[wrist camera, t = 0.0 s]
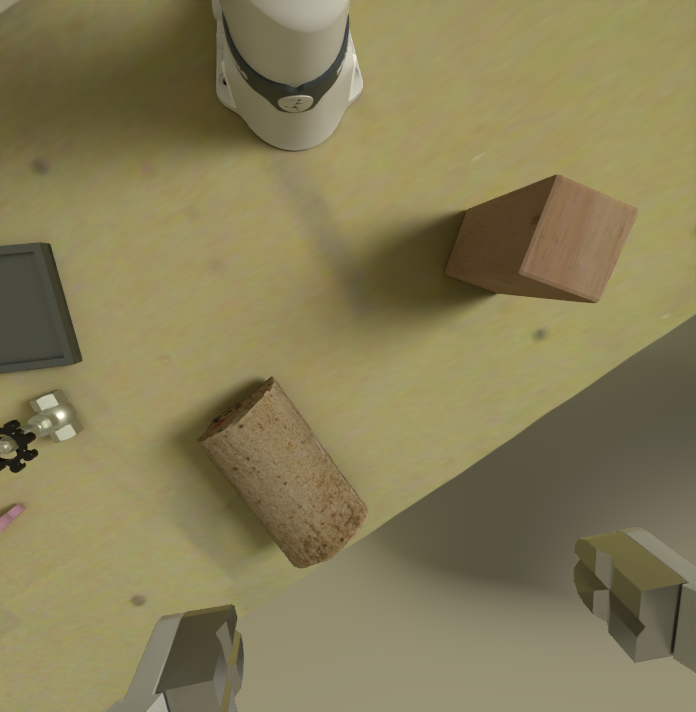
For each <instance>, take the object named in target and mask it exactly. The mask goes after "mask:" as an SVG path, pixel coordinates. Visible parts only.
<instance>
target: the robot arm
mask: <svg viewBox="0 0 696 712" xmlns="http://www.w3.org/2000/svg"><path fill="white" fill-rule="evenodd" d="M349 6H350V0H212V10H213V15H214V18H215V19H216V20H217V33H216V42H217V56H216V93H217V97H218V99H219V101H220V102H221V103H222V104H223V105H224V106H226V107H227V108H229V109H231V110H232V111H234V112H236V113H237V114H239V115H240V116H241V117H242V118H243V119H244V121H245V122H246V123H247V125H248V126H249V127H250V128H251V130H252V131H253V132H254V133H255V134H256V135H257V136H259V137H260V138H261V139H262V140H264V141H265V142H267V143H269V144H271V145H273V146H275V147H278V148H281V149H285V150H294V151H296V150H305V149H309V148H312V147H314V146H316V145H318V144H320V143H322V142H323V141H324V140H326V139H327V138H328V137H329V136H330V135H331V134H332V133H333V131H334V130H335V129H336V127H337V126H338V124H339V122H340V120H341V118H342V116H343V114H344V112H345V110H346V108H347V107H348V106H349V105H350V104H352V103H353V102H354V101H355V100H356V99H357V98H358V97H359V96H360V94H361V93H362V89H363V81H362V77H361V73H360V69H359V65H358V61H357V57H356V53H355V49H354V45H353V41H352V37H351V33H350V30H349V14H348V11H349ZM224 81H226V84H227V85H224ZM574 553H575V554H576V555H577V557H578V558H579V559H580V560H579V561H578V563H577V564H576V566H575V567H574V583H575V586H576V589H577V592H578V594H579V596H580V598H581V599H582V601H583V603H584V604H585V605H586V606H587V608H588V609H589V610H590V611H591V612H592V614H594V615H596V616H597V617H599V618H601V619H603V620H605V621H607V625H608V632H609V633H610V635H611V636H612V637H613V638H614V639H615V640H616V642H617V643H618V644H619V645H620V646H621V647H622V649H623V650H624V651H625V652H626V653H627V654H628V655H629V657H630V658H631V659H632V660H633V661H634V662H635V663H636V662H642V661H647V660H652V659H657V658H663V657H668V656H673V658H674V659H675V660H677V661H678V662H680V663H681V664H683V665H684V666H686V667H688V668H689V669H691V670H692V671H694V672H695V673H696V567H694V566H693V565H692V564H690V563H689V562H688V561H686V560H685V559H684V558H682V557H681V556H679V555H678V554H677V553H675V552H674V551H672V550H671V549H670V548H669V547H667V546H666V545H665V544H663V543H662V542H661V541H659V540H658V539H657V538H655V537H654V536H652V535H651V534H650V533H648V532H647V531H646V530H644V529H641V528H638V527H633V528H629V529H624V530H618V531H616V532H609V533H604V534H599V535H594V536H589V537H584V538H579V539H578V540H577V541H576V543H575V550H574ZM236 623H237V614H236V610H235V606H234V605H232V604H231V605H225V606H218V607H212V608H206V609H200V610H194V611H187V612H185V613H178V614H172V615H166V616H162V617H161V618H160V619H159V621H158V622H157V623H156V625H155V628H154V630H153V632H152V635H151V637H150V639H149V642H148V644H147V647H146V649H145V651H144V654H143V656H142V658H141V661H140V663H139V666H138V668H137V670H136V673H135V675H134V677H133V680H132V682H131V685H130V687H129V689H128V692H127V694H126V696H125V699H124V700H123V701H119V702H116V703H115V704H114V705H113V706H112V707H111V708H110V709H109V710H108V711H107V712H237V708H236V704H235V699H234V697H235V696H236V695H237V693H238V692H239V690H240V689H241V685H242V678H243V664H244V652H243V642H242V637H241V634H240V633H239V632H238V631H236V630H235V628H236Z"/></svg>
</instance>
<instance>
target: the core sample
mask: <svg viewBox="0 0 696 712" xmlns="http://www.w3.org/2000/svg"><path fill="white" fill-rule="evenodd" d="M197 442H198V444H199V445H200V446H201V447H202V449H203V450H204V451H205V453H206V454H207V455H208V456H209V458H210V459H211V460H212V462H213V463H214V464H215V465H216V467H217V468H218V469H219V470H220V472H221V473H222V474H223V475H224V476H225V478H226V479H227V480H228V481H229V483H230V484H231V485H232V486H233V488H234V489H235V490H236V491H237V493H238V494H239V495H240V497H241V498H242V499H243V500H244V502H245V503H246V504H247V506H248V507H249V509H250V510H251V511H252V513H253V514H254V515H255V516H256V518H257V519H258V520H259V521H260V523H261V524H262V525H263V527H264V528H265V529H266V531H267V532H268V533H269V535H270V536H271V537H272V539H273V540H274V541H275V543H276V544H277V545H278V546H279V548H280V549H281V550H282V551H283V553H284V554H285V555H286V557H287V558H288V559H289V561H290V562H291V563H292V564H293V565H294V567H298V568H307V567H309V566H311V565H314V564H317V563H320V562H324V561H327V560H328V559H330V558H332V557H334V556H335V555H336V554H337V553H338V552H339V551H340V550H341V549H342V548H343V547H344V546H345V545H346V544H347V543H348V542H349V541H350V540H351V539H352V538H353V537H354V535H355V534H356V533H357V532H358V531H359V530H360V529H361V528H362V526H363V525H364V524H365V523H366V521H367V518H368V509H367V507H366V505H365V503H364V502H363V501H362V500H361V498H360V497H359V496H358V494H357V493H356V492H355V490H354V489H353V488H352V487H351V485H350V484H349V483H348V481H347V480H346V478H345V477H344V476H343V475H342V474H341V472H340V471H339V470H338V468H337V466H336V465H335V463H334V462H333V460H332V459H331V457H330V456H329V454H328V453H327V452H326V450H325V449H324V448H323V446H322V445H321V443H320V441H319V440H318V439H317V437H316V436H315V435H314V433H313V431H312V430H311V428H310V427H309V425H308V424H307V422H306V421H305V420H304V418H303V417H302V415H301V414H300V413H299V411H298V410H297V409H296V407H295V406H294V405H293V403H292V402H291V400H290V399H289V398H288V396H287V395H286V394H285V392H284V391H283V390H282V388H281V387H280V386H279V384H278V383H277V381H276V380H275V379H274V377H270V378H269V379H268V380H266V381H265V382H264V383H263V384H262V385H261V386H260V388H259V389H257V390H256V392H254V393H253V394H252V395H250V396H249V397H247V398H246V399H244V400H243V401H242V402H241V403H239V404H237V405H235V406H233V407H231V408H229V409H228V410H227V411H226V412H224V413H222V414H221V415H219V416H218V417H217V418H215V419H214V420H213V421H212V423H211V424H210V426H209V427H208V429H207V431H206V432H205V433H204V434H203V435H202V436H201V437H200V438H199V439H197Z"/></svg>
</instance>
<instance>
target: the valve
mask: <svg viewBox="0 0 696 712" xmlns="http://www.w3.org/2000/svg"><path fill="white" fill-rule="evenodd" d="M66 399H67V398H66V396H65V395H64V393H63V391H62V390H55V391H52V392H50V393H47V394H45V395H42V396H40V397H37V398H35V399H33V400H31V401H30V402H29V403H30V405H31V407H32V408H33V410H34V411H35V412H38V414H37V415H35V416H33V417H31V418H30V419H29V420H28V423H27V425H26V426H24V427H22V428H19V429H17V428H18V427H20V423H19V421H17V420H12V421H10V422H8V423H6V424H4V426H3V428H0V434H4V435H6V436H5V437H0V453H1V454H9V453H10V452H13V451H15V450H16V452H17V456H16V457H14V458H12V459H4V458H1V457H0V471H1V470H3V469H4V468H5V467H6V466H4V465H7V466H9V467H10V471H11V472H14V473H17V472H19V471H21V470H22V469H24V468H25V466H26V463H23V464H21V463H20V460H21V459H24V460H25V461H30V460H32V459H34V458H35V457H36V456H37V455H38V451H37V450H36V449H33V450H32V451H31V450H27V449H28V446H27V444H29V443H30V442H32V441H34V440H35V439H36V437H37V436H38V437H44V436H47V435H49V436H50V438H51V439H52V441H53V442H54V443H59V442H62V441H64V440H67V439H69V438H71V437H73V436H75V435H77V434H79V433H80V432H82V431H83V429H84V427H83V426H82V424H81V422H80V420H76V411H75V409H74V407H73V406H72V405H71V404H70V403H68V402H66V401H65V400H66ZM16 429H17V430H16Z"/></svg>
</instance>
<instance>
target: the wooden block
mask: <svg viewBox="0 0 696 712" xmlns="http://www.w3.org/2000/svg"><path fill="white" fill-rule="evenodd" d="M637 214H638V209H637V208H635V207H633V206H630V205H628V204H626V203H623V202H621V201H619V200H617V199H614V198H612V197H610V196H607V195H605V194H603V193H600V192H598V191H596V190H594V189H591V188H589V187H587V186H584V185H582V184H580V183H577V182H575V181H573V180H571V179H568V178H566V177H564V176H561V175H554V176H551V177H549V178H546V179H543V180H541V181H538V182H536V183H533V184H531V185H528V186H526V187H523V188H521V189H518V190H515V191H513V192H510V193H508V194H505V195H503V196H500V197H498V198H495V199H492V200H490V201H487V202H485V203H482V204H480V205H477V206H475V207H472V208H469V209H468V210H467V211H466V214H465V217H464V220H463V222H462V225H461V228H460V231H459V233H458V236H457V239H456V242H455V244H454V247H453V250H452V253H451V256H450V258H449V261H448V264H447V267H446V269H445V274H446V275H447V276H450V277H453V278H455V279H458V280H461V281H464V282H467V283H470V284H473V285H475V286H478V287H481V288H484V289H487V290H490V291H492V292H495V293H498V294H506V295H516V296H526V297H536V298H546V299H556V300H566V301H576V302H586V303H597V302H598V301H599V300H600V298H601V296H602V294H603V292H604V289H605V287H606V285H607V282H608V280H609V278H610V276H611V273H612V271H613V269H614V267H615V264H616V262H617V260H618V257H619V255H620V253H621V251H622V248H623V246H624V244H625V242H626V239H627V237H628V235H629V233H630V230H631V228H632V226H633V223H634V221H635V219H636V217H637Z"/></svg>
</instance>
